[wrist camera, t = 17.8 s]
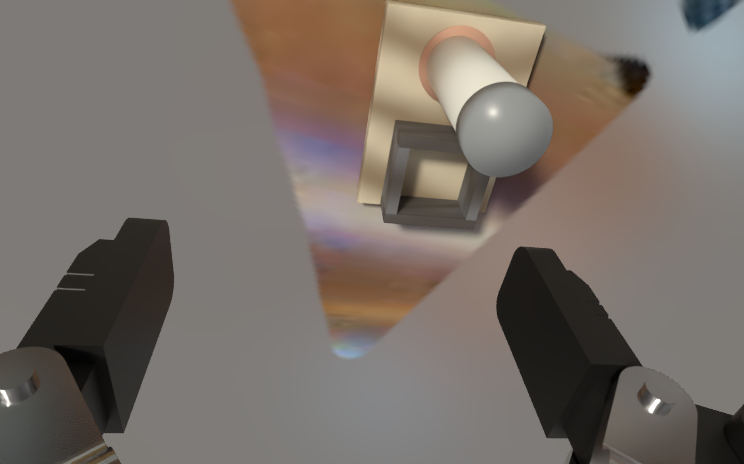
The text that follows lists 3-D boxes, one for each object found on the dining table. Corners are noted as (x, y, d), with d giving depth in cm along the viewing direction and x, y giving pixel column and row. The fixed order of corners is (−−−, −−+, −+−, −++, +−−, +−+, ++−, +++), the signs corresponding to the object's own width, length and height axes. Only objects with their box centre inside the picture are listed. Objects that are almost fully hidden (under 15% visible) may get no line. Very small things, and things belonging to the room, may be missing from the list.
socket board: (385, -1, 39) (393, 13, 35) (539, 22, 41) (563, 37, 37) (356, 194, 49) (359, 222, 45) (480, 205, 51) (494, 232, 47)
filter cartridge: (431, 28, 39) (476, 87, 27) (496, 37, 40) (566, 98, 28) (417, 94, 42) (453, 173, 30) (478, 101, 43) (535, 181, 31)
